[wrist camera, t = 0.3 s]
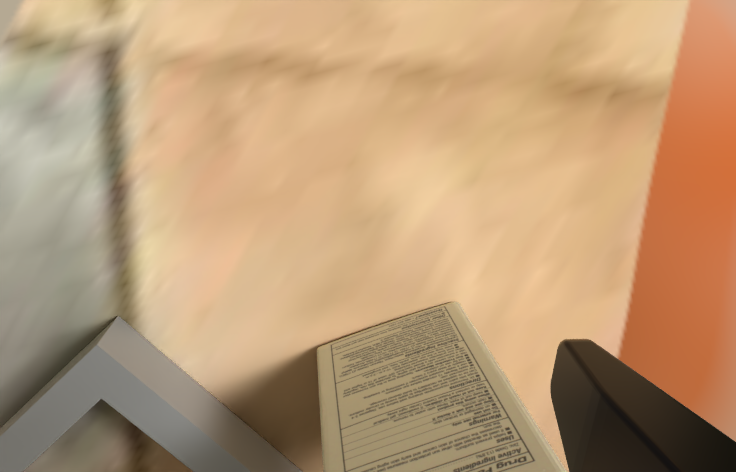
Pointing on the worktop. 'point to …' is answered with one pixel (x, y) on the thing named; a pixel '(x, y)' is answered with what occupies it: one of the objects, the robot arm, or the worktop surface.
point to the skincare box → (424, 402)
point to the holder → (138, 409)
